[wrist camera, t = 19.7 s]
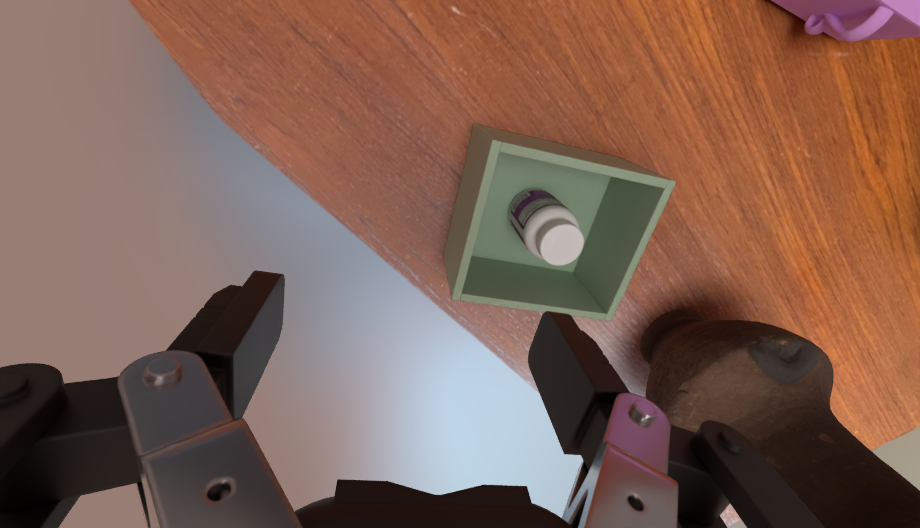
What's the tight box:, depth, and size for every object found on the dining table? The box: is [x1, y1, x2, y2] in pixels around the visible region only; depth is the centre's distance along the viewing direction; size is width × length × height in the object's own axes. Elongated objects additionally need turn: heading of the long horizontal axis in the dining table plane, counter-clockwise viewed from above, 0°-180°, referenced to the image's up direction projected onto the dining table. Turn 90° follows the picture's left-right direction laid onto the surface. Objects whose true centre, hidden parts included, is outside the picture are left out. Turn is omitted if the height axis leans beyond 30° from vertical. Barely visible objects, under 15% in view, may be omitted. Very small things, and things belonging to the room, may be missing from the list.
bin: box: [443, 124, 676, 321], centre depth 39 cm, size 17×15×10 cm
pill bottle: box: [509, 188, 584, 266], centre depth 39 cm, size 5×5×10 cm
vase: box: [641, 309, 920, 528], centre depth 41 cm, size 19×19×30 cm
